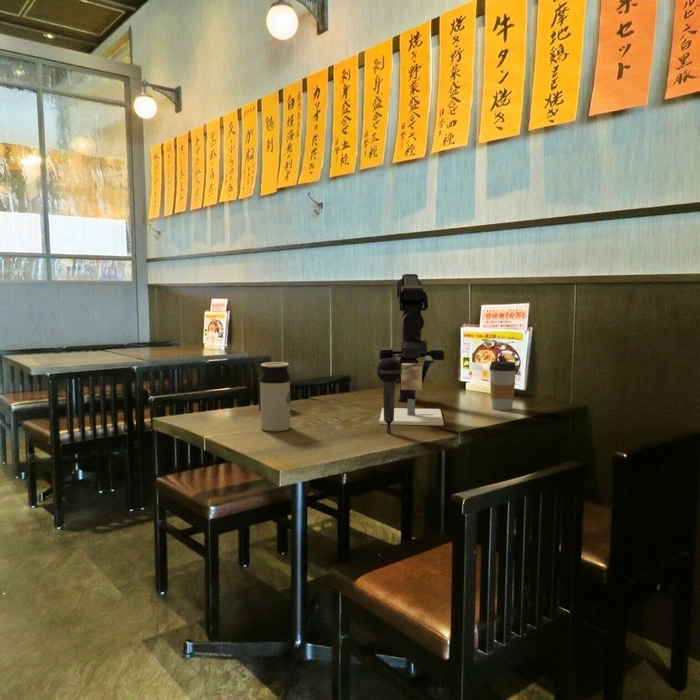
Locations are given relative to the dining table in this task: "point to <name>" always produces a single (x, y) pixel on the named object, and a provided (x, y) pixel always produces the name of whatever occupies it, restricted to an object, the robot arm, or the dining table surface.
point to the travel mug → (275, 396)
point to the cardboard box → (411, 376)
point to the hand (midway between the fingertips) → (411, 383)
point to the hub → (414, 416)
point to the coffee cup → (502, 384)
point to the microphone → (389, 386)
